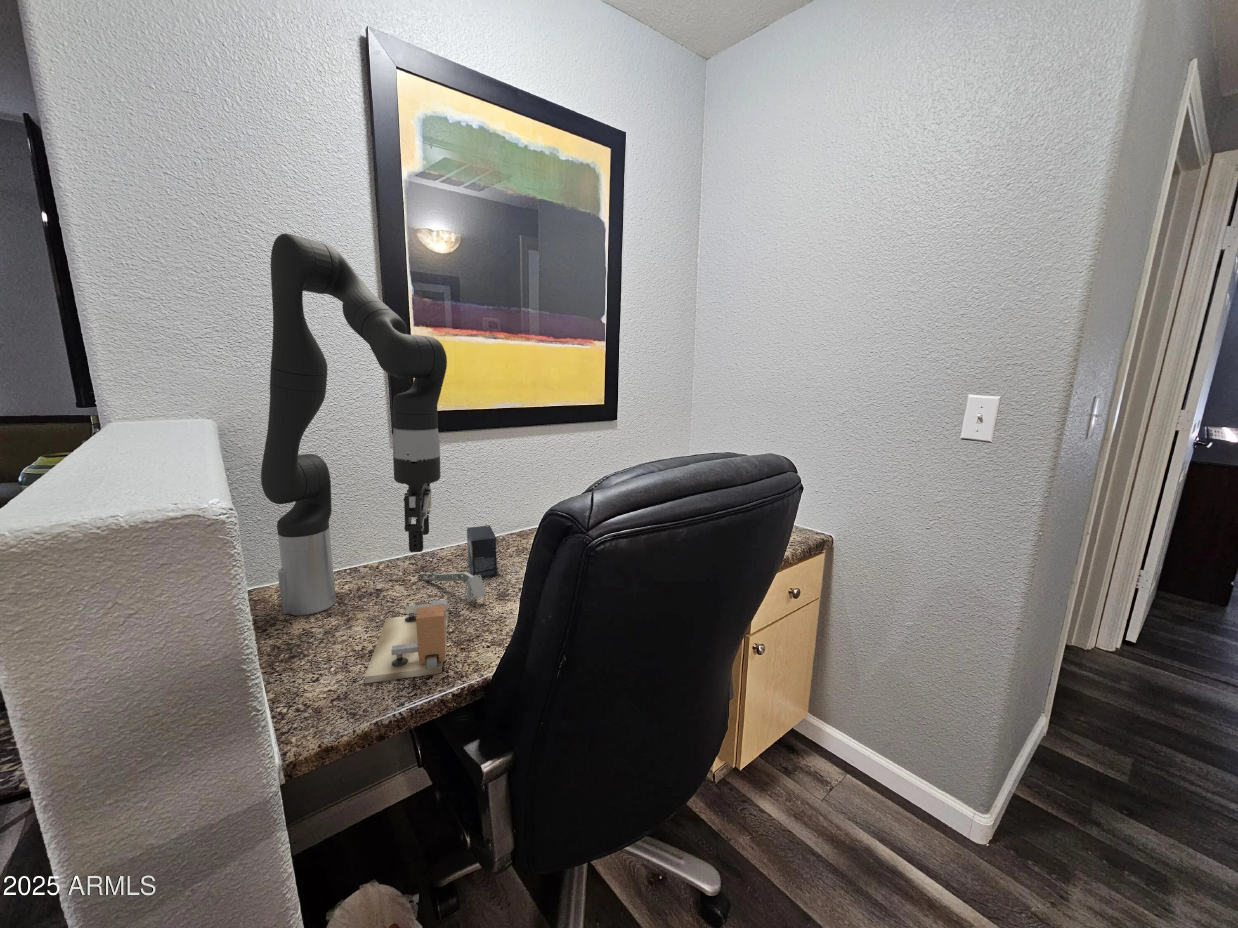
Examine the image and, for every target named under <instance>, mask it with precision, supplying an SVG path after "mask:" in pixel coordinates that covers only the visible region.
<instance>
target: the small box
mask: <svg viewBox="0 0 1238 928" xmlns="http://www.w3.org/2000/svg"><path fill="white" fill-rule="evenodd" d="M466 535H467V537H466V540H467V542H466V543H467V558H468V566H469V569H470V572H471V573H470V574H471V575H473V576H474V575H476V576H477V575H481V578H482V579H483V578H489V577H490V578H491V577H495V576H498V575H499V574H498V573H499V572H498V559H497V536H496V535H495V533H494V530H493V529H492V526H491V525H489V524H487V525H480V526H479V525H478V526H472V527H467V528H466ZM479 577H480V576H479Z"/></svg>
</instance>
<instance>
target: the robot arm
mask: <svg viewBox="0 0 1238 928" xmlns="http://www.w3.org/2000/svg"><path fill="white" fill-rule="evenodd" d="M270 281H271V283H270V284H271V298H272V299H271V300H272V301H271V302H272V303H271V304H272V322H273V323H272V340H271V341H272V342H271V343H272V344H271V359H270V369H269V370H270V373H269V374H270V375H269V409H268V410H269V411H268V422H267V433H266V439H265V445H264V452H263V456H262V462H261V469H260V481H261V487H262V490H263V494H264V495H265V497H266V499H268V501H270V502H272V503H273V504H276V505H286V504H287V505H288V504H290V503H294V502H295V503H294V505H293V506H292V507H291V509H290V510H288V512H287V513H285V514H284V515H283V516H281V517H280V518H279V519H278V521H277V523H276V531H277V537H278V538H277V539H278V540H277V541H278V548H279V556H280V564H281V565H280V566H281V568H280V569H279V570H278V571H277V577H278V585H279V594H280V600H281V601H280V602H281V609H282V615H283V614H284V615H285V614H287V615H291V616H292V615H294V616H306V615H307V616H308V615H313V614H316V613H320V612H322V611H323V612H324V611H325V610H328V609H329V608H331V607H332V606H334V605H335V604H336V603H337V596H336V594H337V593H336V587H335V586H336V585H335V574H334V566H333V565H334V563H333V561H334V560H333V554H332V553H333V552H332V551H333V550H332V543H331V531H330V530H331V529H330V518H331V516H332V509H333V508H332V487H331V486H332V482H331V474H330V470H329V467H328V465H327V463H326V462H325V460H324V459H323V458H322V457H321V456H319V455H317V454H314V453H303V454H299V449H300V445H301V440H302V438H303V436H304V434H305V431H306V430H307V428H308V427H309V425H310V424H311V422H312V421H313V420H314V418H315V416H316V415H317V413H318V412H319V410H320V409H321V407H322V405H323V404H324V401H325V398H326V395H327V394H326V393H327V381H328V362H327V359H326V357H325V355H324V353H323V351H322V349H321V348H320V346H319V343H318V342H317V340H316V339H315V337H314V335H313V333H312V331H311V329H310V328H309V326H308V323H307V320H306V317H305V312H304V303H303V297H304V295H303V293H304V292H308V293H314V294H319V295H328V296H331V297H333V298H334V299H335V298H336V299H337V300H338V301H340V302H342V308H341V309H342V314H343V317H344V319H345V321H346V323H347V325H348V326H349V327H350V328H351V329H352V330H353V331H354V332H355V333H356V334H357V335H358V336H359V337H360V338H362V340H364V342H365V343H367V344H368V346H369V348H370V350H371V352H372V353H373V355H374V357H375V359H376V361H377V363H378V365H379V366H380V368H381V369H382V370H383V371H384V372H385V373H387V374H389V376H392V377H394V378H399V379H413V382H412V386H411V387H410V389H408V390H406V391H403V392H401V393H397V394H396V395H395V396H394V397H393V399H392V421H393V433H392V458H393V459H392V460H393V480H394V481H395V482H396V483H397V484H401V485H407V486H408V488H407V490H406V492H404V497H403V503H404V504H403V505H404V506H403V507H404V528H403V529H404V531H405V532H408V551H409V552H410V553H422V552H423V551H424V536H427V535H428V534H429V533H430V514H431V507H432V489H431V484H433V483H437V482H438V481H440V479H441V475H442V474H441V443H440V441H441V439H440V436H439V428H438V427H439V421H438V420H439V419H438V418H439V417H438V403H439V398H440V396H441V392H442V388H443V384H444V381H445V376H446V372H447V368H448V367H447V366H448V359H447V358H448V357H447V353H446V350H445V348H444V345H443V344H442V343H441V342H440V340H438V338H436V337H433V336H428V335H418V334H417V335H416V334H408V328H407V325H406V322H405V321H404V320H403V319H402V317H400V316H399V315H398V314H397V313H396V312H395V311H394V310H392V309H391V308H390V307H389V306H388V305H387V304H386V303H384V302H383V301H382V300H380V299H379V297H378V296H376V295H375V294H374V293H373V292H372V291H371V290H370V289H369V288H368V286H367V285H366V284H365V282H364V281H363V280H362V278H361V277H360V276H359V274H358V273H357V272H356V271H355V269H354V268H353V267H352V265H351V264H350V263H349V261H348V260H347V259H346V258H345V257H344V255H343V254H342V253H341V252H340V251H339V250H337V249H336V248H335V247H333V246H331V245H329V244H326V243H324V242H319V241H316V240H312V239H311V238H310V239H309V238H306V237H302V236H299V235H296V234H295V235H294V234H291V233H281V234H279V235H278V236H276V238H275V240H274V242H273V245H272V247H271V252H270ZM412 520H415V523H412Z"/></svg>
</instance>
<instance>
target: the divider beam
mask: <svg viewBox="0 0 1238 928" xmlns="http://www.w3.org/2000/svg"><path fill="white" fill-rule="evenodd" d="M439 605H445V611H448V608H449V607H448V606H449V603H448V599H443V600H442V599H440V600H432V601H431V603H425V604H417V605H408V606H406V607H405V614H407V615H408V616H409V620H413V619H414V615H415V614H417V613H418V609H419V608H420V607H429V606H439ZM438 656H439V654H432V655H427V660H426V661H427V669H428V668H435V667H437V663H438Z"/></svg>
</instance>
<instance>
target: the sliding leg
mask: <svg viewBox="0 0 1238 928" xmlns="http://www.w3.org/2000/svg"><path fill="white" fill-rule="evenodd" d="M446 612H447V611H446V610H445V605H439V606H429V607H420V608H419V609H418V613H416V615H417V617H416V627H417V643H411V644H403V645H395V646H392V650H391V653H392V655H396V659H397V661H402V660H403V654H407V653H415V652H418V656H419V665H420V664H426V659H427V655H432V654H439V662H443V663H444V662H446V657H447V649H448V647H447V642H448V638H447V637H448V635H447V632H446Z"/></svg>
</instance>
